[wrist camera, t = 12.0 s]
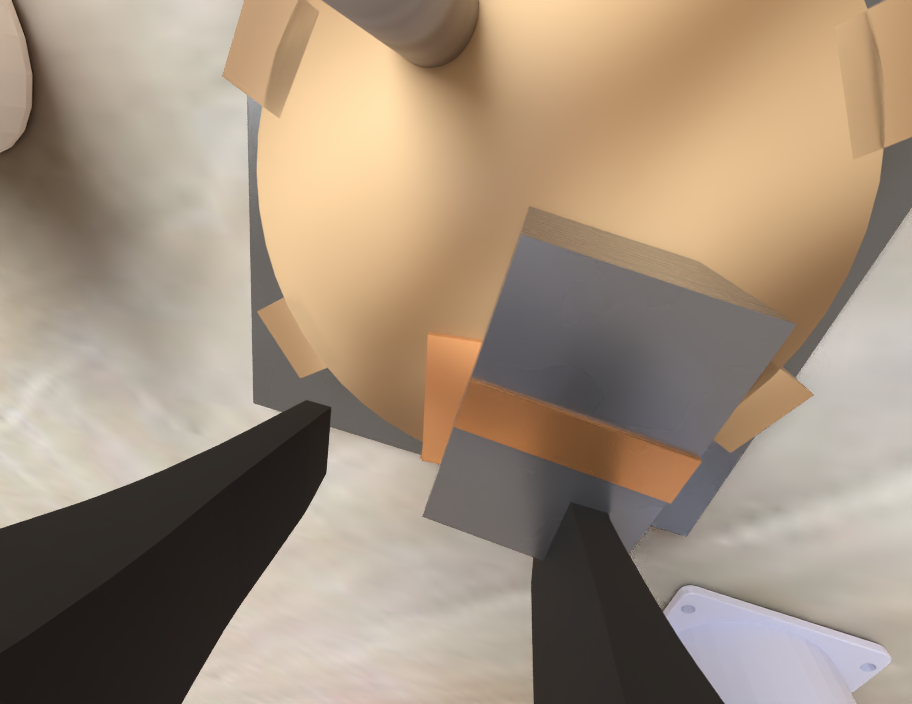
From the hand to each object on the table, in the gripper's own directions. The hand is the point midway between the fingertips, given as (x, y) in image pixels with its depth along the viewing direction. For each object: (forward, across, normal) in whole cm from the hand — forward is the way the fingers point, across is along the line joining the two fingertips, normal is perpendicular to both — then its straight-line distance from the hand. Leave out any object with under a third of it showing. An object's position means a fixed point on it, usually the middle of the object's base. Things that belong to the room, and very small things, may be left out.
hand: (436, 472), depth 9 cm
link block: (+3, -2, -3) cm, 4 cm away
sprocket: (+5, -1, -5) cm, 7 cm away
